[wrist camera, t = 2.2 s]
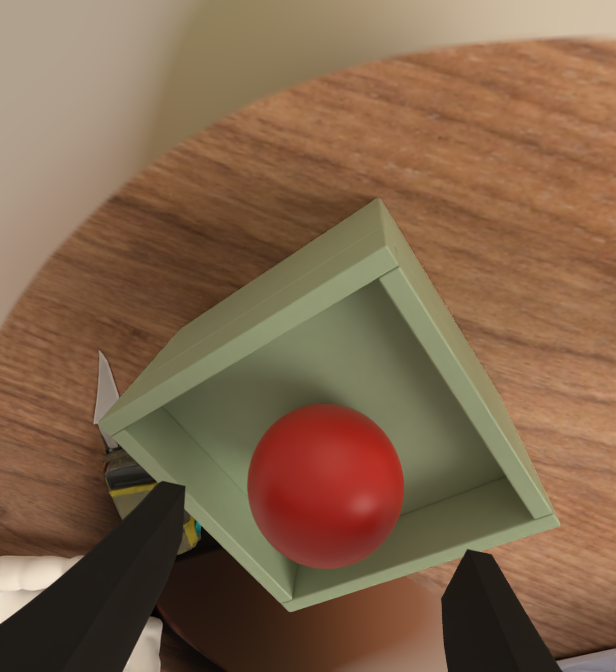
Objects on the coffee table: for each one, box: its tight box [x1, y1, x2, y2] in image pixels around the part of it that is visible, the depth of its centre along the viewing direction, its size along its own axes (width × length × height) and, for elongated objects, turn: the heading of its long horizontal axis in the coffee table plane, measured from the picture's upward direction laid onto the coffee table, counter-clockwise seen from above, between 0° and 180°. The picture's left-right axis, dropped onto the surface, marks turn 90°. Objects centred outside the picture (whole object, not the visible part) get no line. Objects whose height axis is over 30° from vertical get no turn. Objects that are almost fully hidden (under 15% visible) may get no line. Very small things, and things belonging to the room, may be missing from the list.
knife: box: [94, 350, 119, 450], centre depth 23 cm, size 10×2×1 cm, turn 4°
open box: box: [98, 197, 560, 612], centre depth 16 cm, size 10×10×7 cm
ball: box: [247, 403, 404, 569], centre depth 13 cm, size 5×5×5 cm
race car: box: [103, 446, 201, 555], centre depth 23 cm, size 4×8×2 cm, turn 7°
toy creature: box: [0, 556, 162, 672], centre depth 27 cm, size 12×6×12 cm
